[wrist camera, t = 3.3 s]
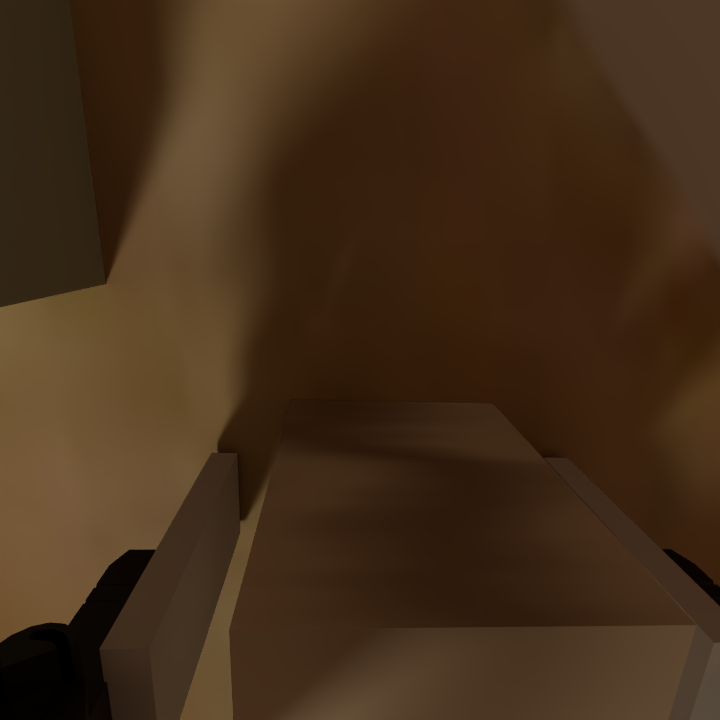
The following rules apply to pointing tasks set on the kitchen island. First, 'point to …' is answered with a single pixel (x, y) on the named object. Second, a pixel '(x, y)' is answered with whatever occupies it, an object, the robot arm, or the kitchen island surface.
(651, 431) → the kitchen island surface
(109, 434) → the kitchen island surface
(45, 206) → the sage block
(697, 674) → the robot arm
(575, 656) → the maple block
